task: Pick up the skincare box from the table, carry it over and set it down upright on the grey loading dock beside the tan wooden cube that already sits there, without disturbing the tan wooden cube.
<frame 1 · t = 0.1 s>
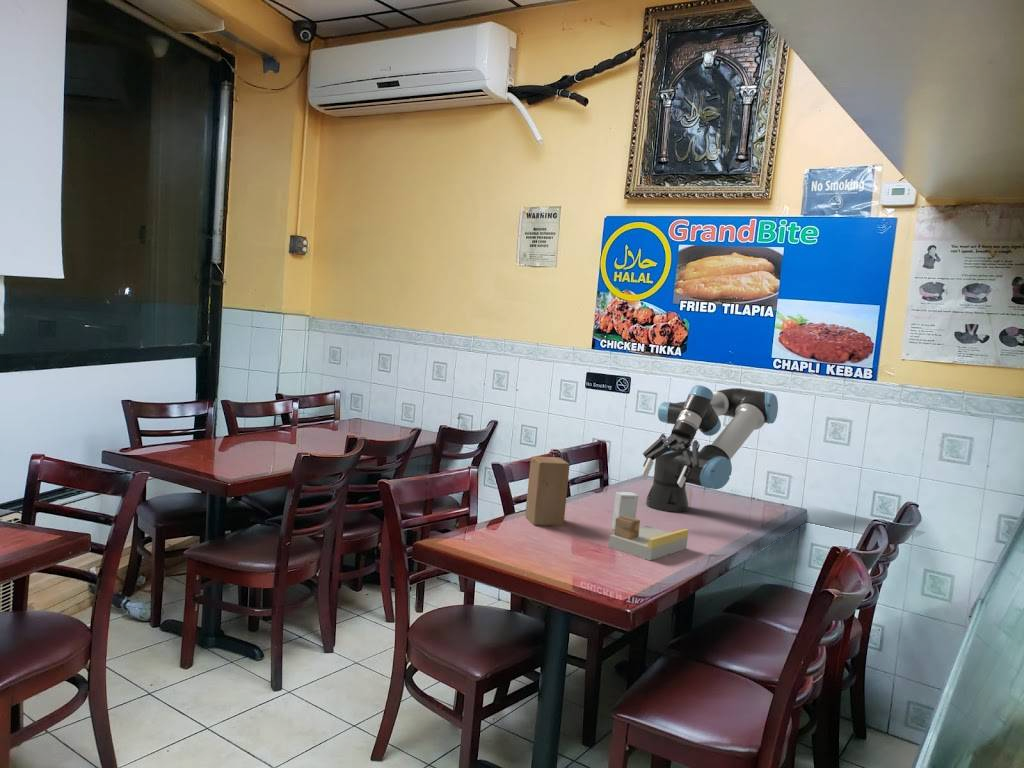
hand: (661, 480, 246), 15 cm above the table, tool tilted 35°, fingers open, 13 cm apart
tan wooden cube: (626, 535, 220), point 3 cm above the table, touching dock
wooden block: (544, 522, 241), on the table
skincare box: (622, 531, 239), on the table
dock: (647, 548, 222), on the table
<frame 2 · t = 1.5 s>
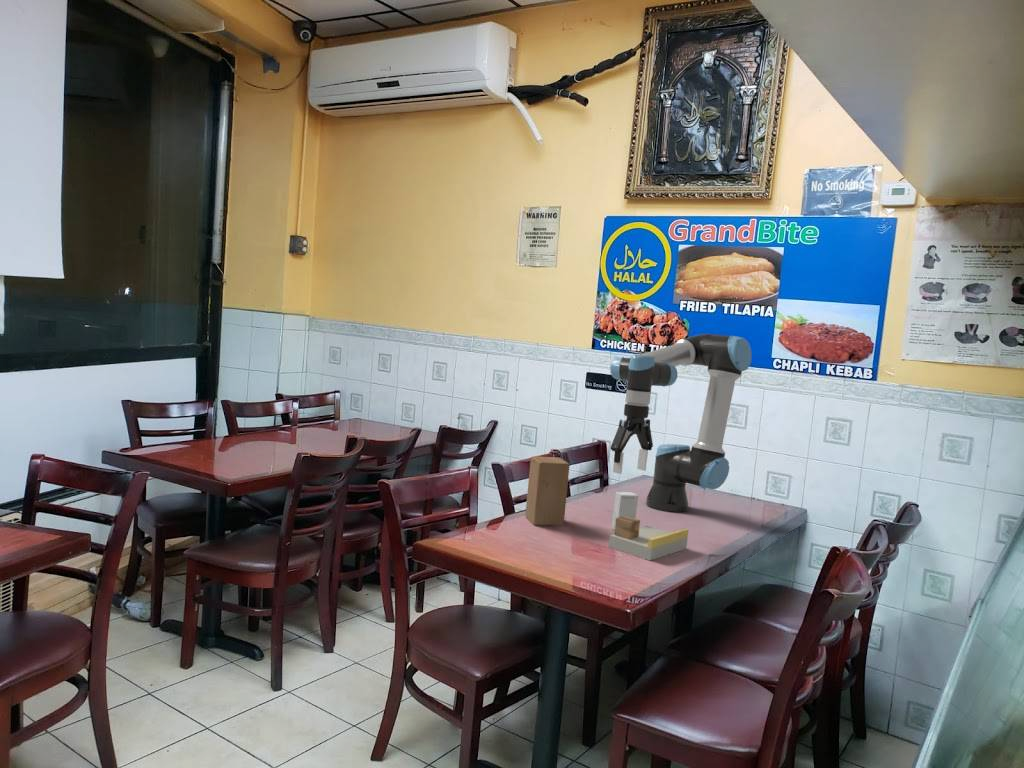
hand: (629, 471, 237), 19 cm above the table, tool pointing down, fingers open, 13 cm apart
nothing on the table moved.
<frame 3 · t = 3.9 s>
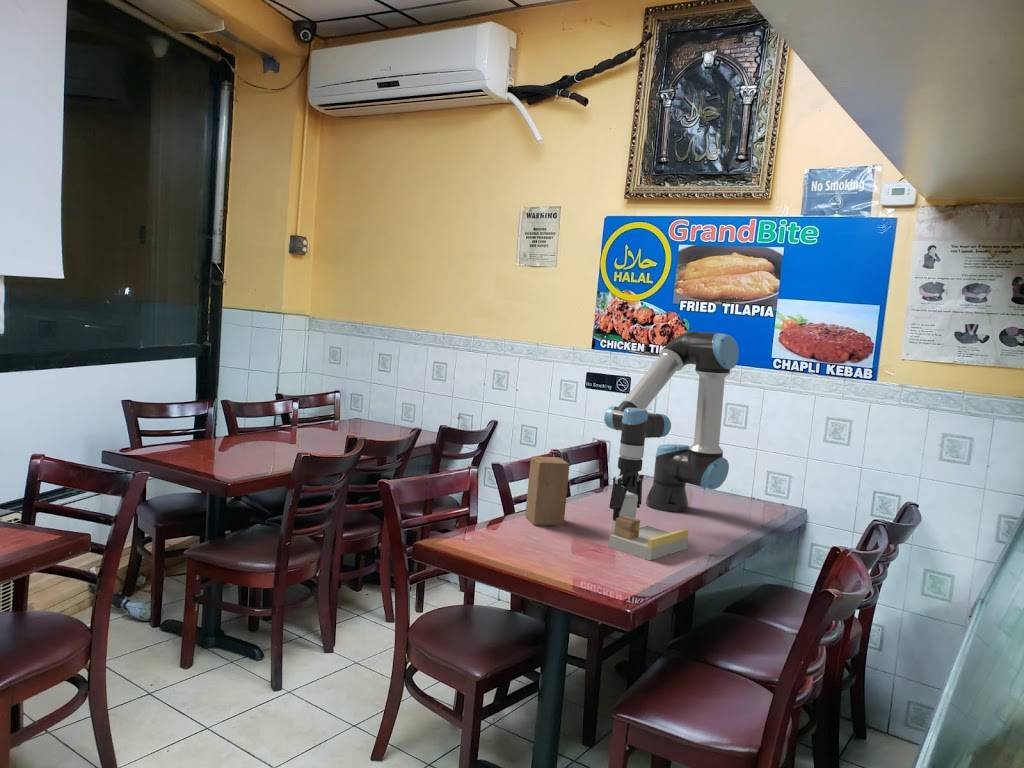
hand: (623, 528, 239), 1 cm above the table, tool pointing down, fingers closed on skincare box, 7 cm apart
skincare box: (622, 531, 239), on the table, touching gripper
everything else where it was.
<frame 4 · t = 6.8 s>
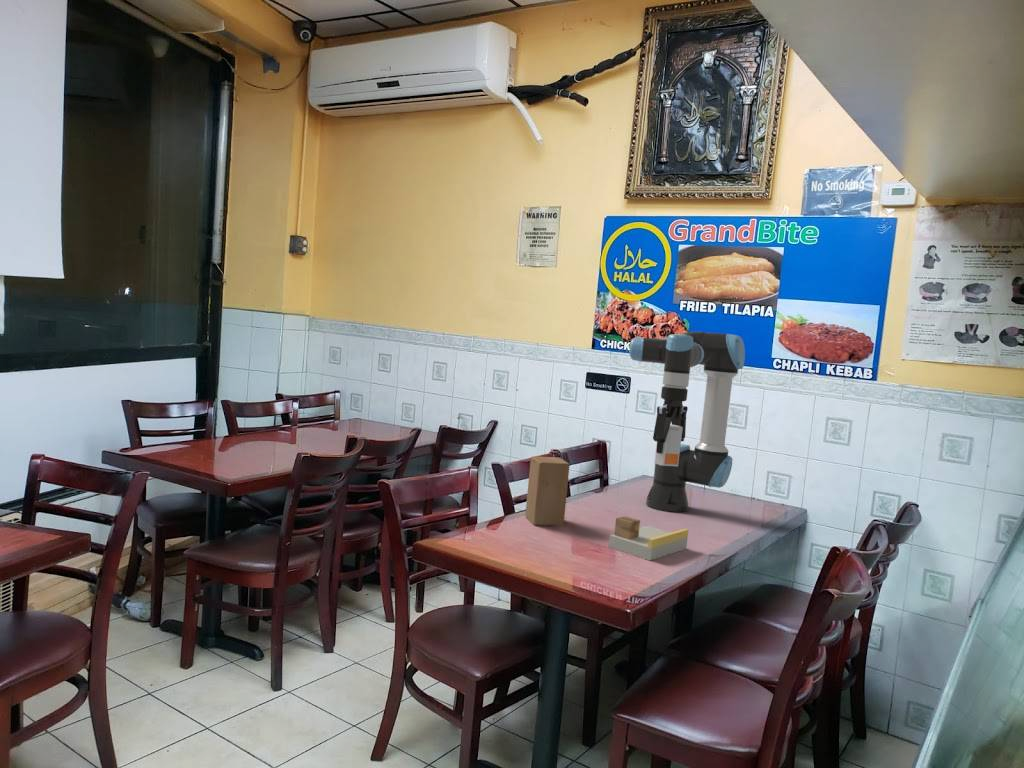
hand: (666, 462, 226), 25 cm above the table, tool pointing down, fingers closed on skincare box, 7 cm apart
skincare box: (666, 465, 226), point 24 cm above the table, touching gripper
everything else where it was.
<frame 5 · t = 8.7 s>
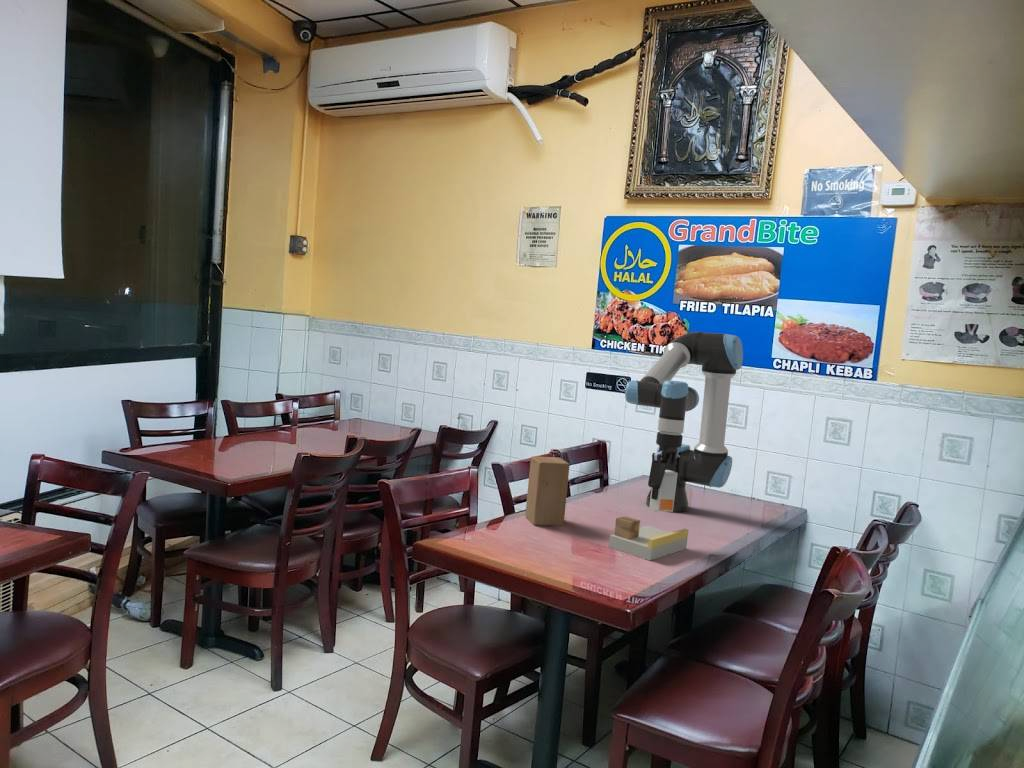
hand: (661, 508, 227), 11 cm above the table, tool pointing down, fingers closed on skincare box, 7 cm apart
skincare box: (661, 510, 227), point 10 cm above the table, touching gripper
everything else where it was.
when the fingers open (6 cm above the table, at t = 10.1 s): skincare box drops 1 cm, resting on dock.
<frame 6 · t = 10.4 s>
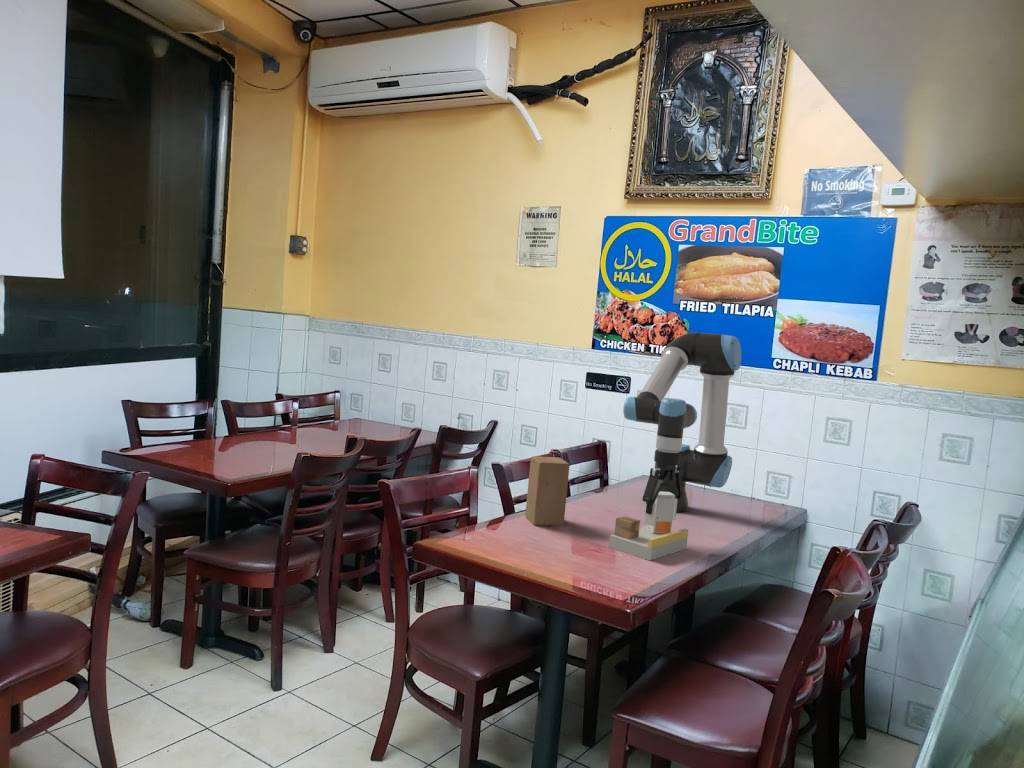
hand: (660, 521, 227), 7 cm above the table, tool pointing down, fingers open, 11 cm apart
skincare box: (659, 532, 228), point 3 cm above the table, touching dock
everything else where it was.
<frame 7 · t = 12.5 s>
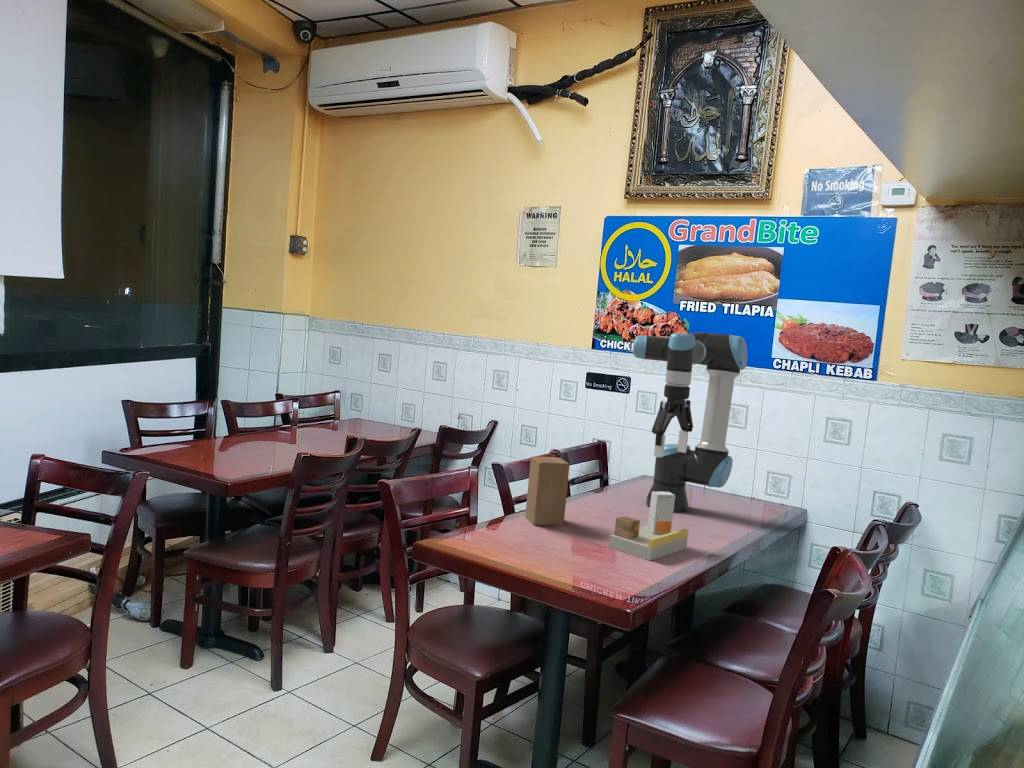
hand: (670, 454, 230), 27 cm above the table, tool pointing down, fingers open, 13 cm apart
nothing on the table moved.
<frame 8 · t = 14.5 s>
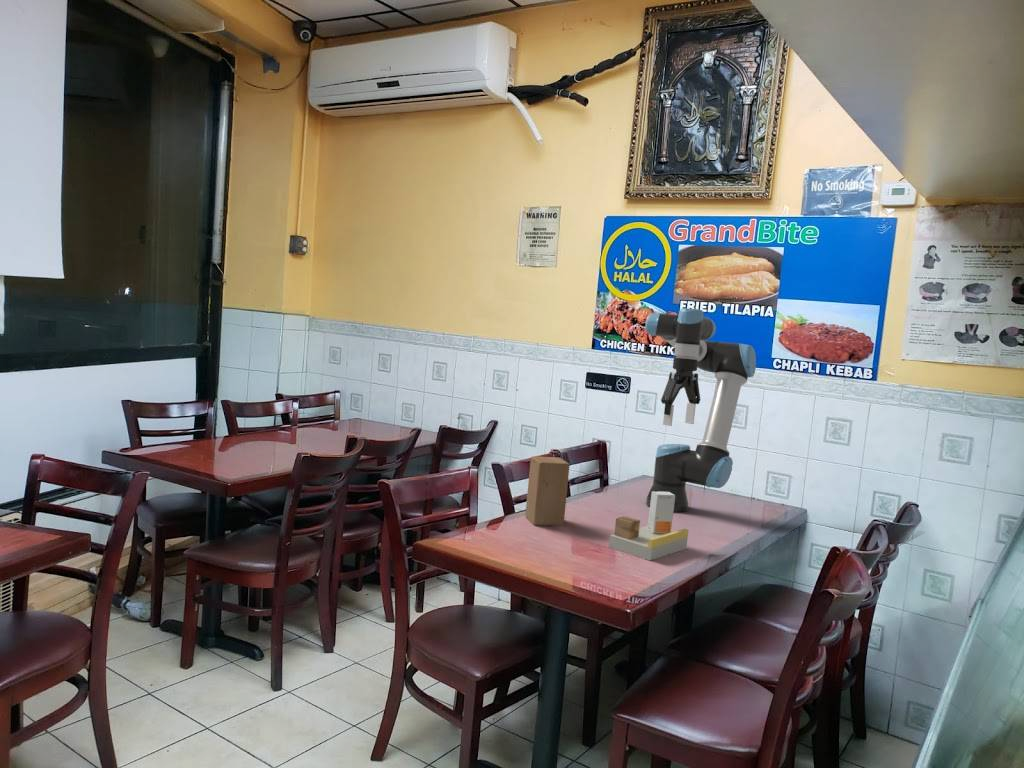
hand: (678, 424, 240), 35 cm above the table, tool pointing down, fingers open, 13 cm apart
nothing on the table moved.
at the end: skincare box inside the target area on the dock (7.3 cm from its centre), point 3.3 cm above the dock's base; skincare box tilted 0°; tan wooden cube moved 0.0 cm from its start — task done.
